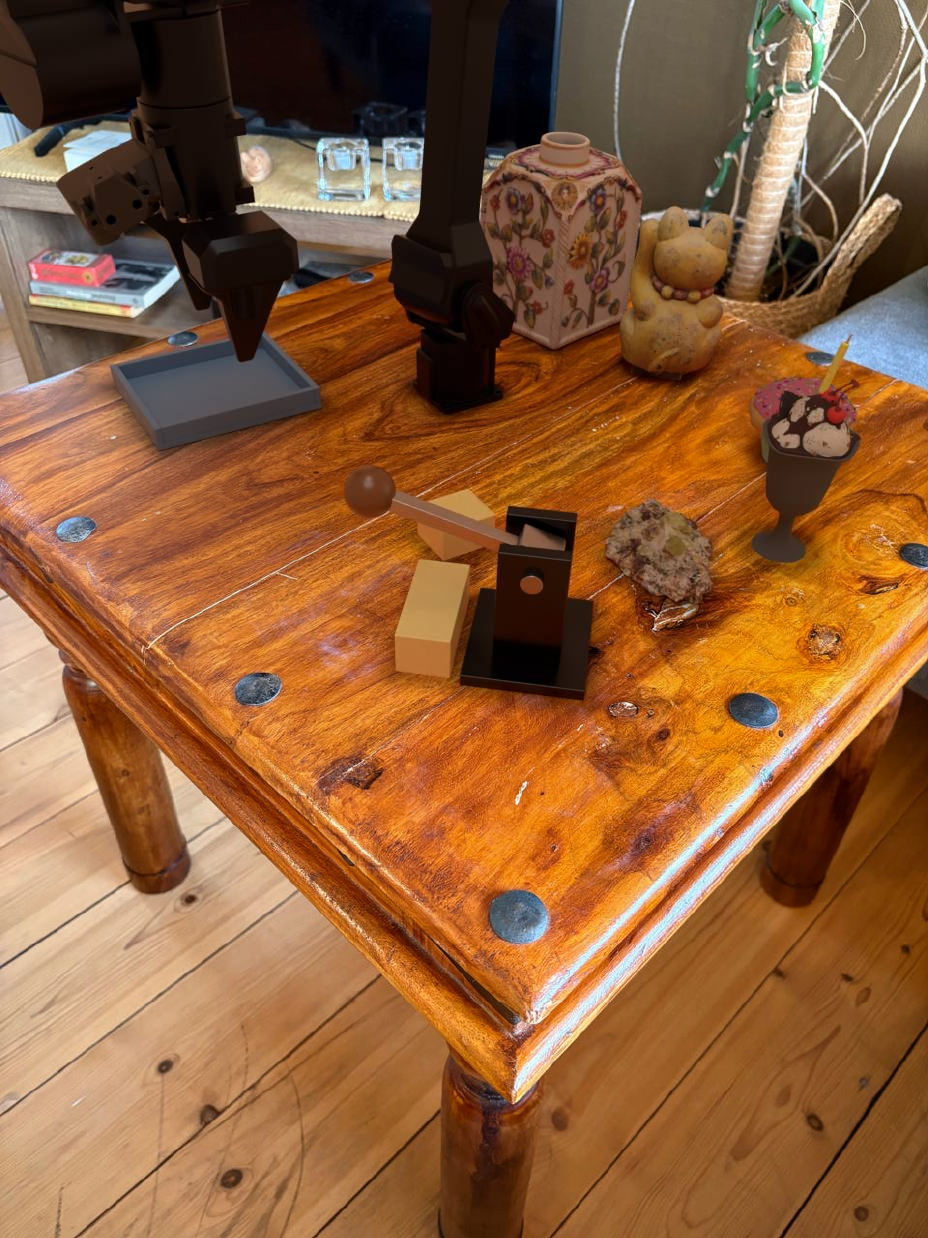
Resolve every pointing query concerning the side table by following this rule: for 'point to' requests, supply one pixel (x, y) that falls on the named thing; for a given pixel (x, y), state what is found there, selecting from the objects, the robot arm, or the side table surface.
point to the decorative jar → (561, 237)
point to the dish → (212, 390)
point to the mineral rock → (662, 552)
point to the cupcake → (770, 394)
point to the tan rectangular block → (432, 618)
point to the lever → (432, 513)
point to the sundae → (802, 464)
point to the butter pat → (463, 505)
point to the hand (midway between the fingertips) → (223, 333)
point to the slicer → (531, 617)
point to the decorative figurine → (675, 295)
